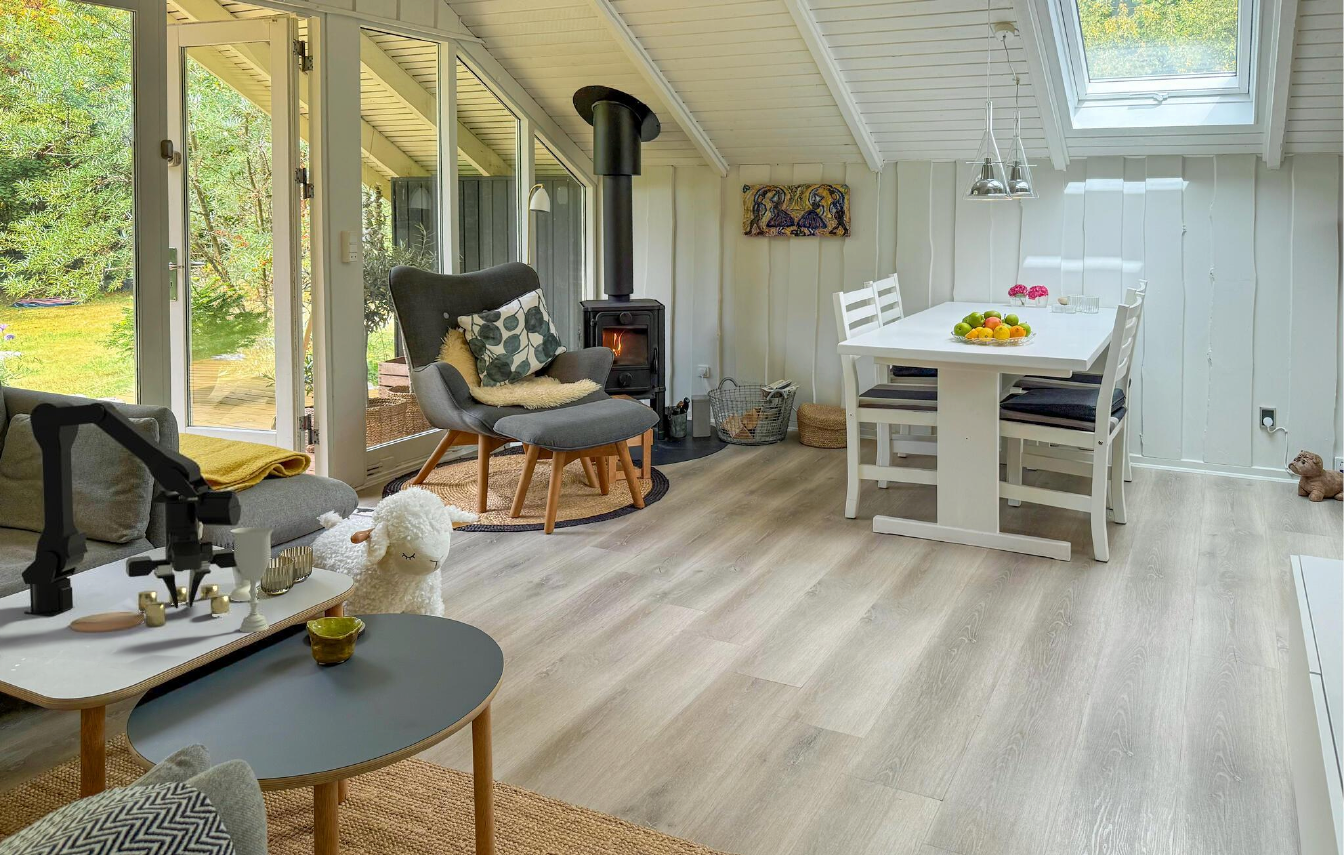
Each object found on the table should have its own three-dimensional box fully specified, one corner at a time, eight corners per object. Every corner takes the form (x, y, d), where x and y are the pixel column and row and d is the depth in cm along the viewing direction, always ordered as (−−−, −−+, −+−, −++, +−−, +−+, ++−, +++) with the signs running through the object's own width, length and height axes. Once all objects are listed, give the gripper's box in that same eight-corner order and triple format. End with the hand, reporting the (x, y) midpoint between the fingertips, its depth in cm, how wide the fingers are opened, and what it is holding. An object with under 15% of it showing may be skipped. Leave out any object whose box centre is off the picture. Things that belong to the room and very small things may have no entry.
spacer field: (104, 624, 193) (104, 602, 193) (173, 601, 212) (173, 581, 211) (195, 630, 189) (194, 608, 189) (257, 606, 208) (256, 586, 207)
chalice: (282, 624, 194) (280, 527, 192) (264, 633, 187) (262, 533, 186) (244, 623, 194) (242, 526, 193) (225, 632, 187) (222, 532, 186)
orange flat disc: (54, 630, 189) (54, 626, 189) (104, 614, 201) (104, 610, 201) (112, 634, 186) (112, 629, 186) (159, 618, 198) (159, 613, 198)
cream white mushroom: (225, 605, 209) (224, 565, 208) (258, 600, 213) (257, 561, 212) (235, 611, 204) (234, 570, 204) (268, 606, 208) (267, 566, 207)
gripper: (130, 536, 187) (133, 622, 188) (242, 527, 198) (244, 609, 199) (124, 527, 197) (126, 610, 198) (230, 519, 207) (232, 598, 208)
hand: (183, 607), depth 200 cm, fingers closed
